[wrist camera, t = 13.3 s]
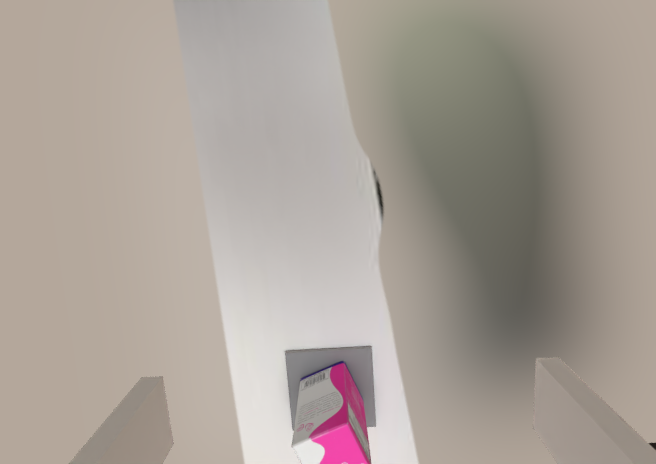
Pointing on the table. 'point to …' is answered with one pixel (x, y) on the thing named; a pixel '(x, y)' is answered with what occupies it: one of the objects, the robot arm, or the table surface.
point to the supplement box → (330, 419)
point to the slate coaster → (318, 359)
